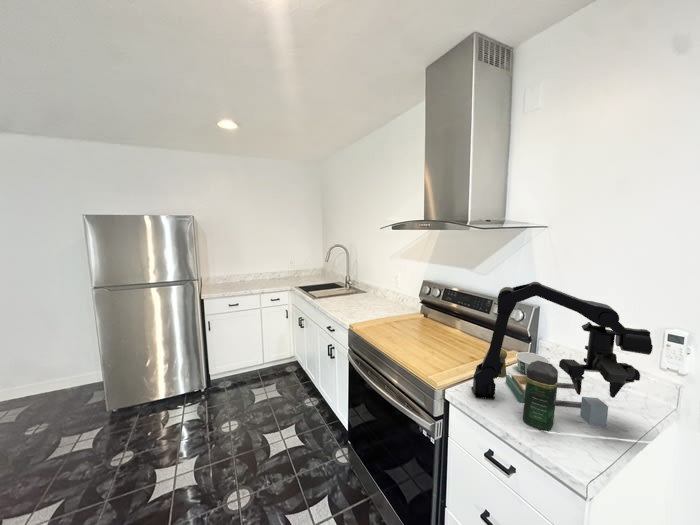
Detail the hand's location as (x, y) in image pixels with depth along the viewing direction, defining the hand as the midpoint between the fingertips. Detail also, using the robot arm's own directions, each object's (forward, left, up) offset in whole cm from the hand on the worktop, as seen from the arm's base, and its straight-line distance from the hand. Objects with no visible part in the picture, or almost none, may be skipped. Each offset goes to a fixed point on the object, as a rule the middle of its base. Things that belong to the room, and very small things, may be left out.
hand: (595, 395), depth 89 cm
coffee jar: (-16, -3, -9) cm, 19 cm away
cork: (-19, +26, -9) cm, 33 cm away
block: (0, 0, -9) cm, 9 cm away
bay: (-7, +13, -9) cm, 17 cm away
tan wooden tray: (-12, +13, -8) cm, 19 cm away
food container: (-5, +30, -9) cm, 32 cm away
